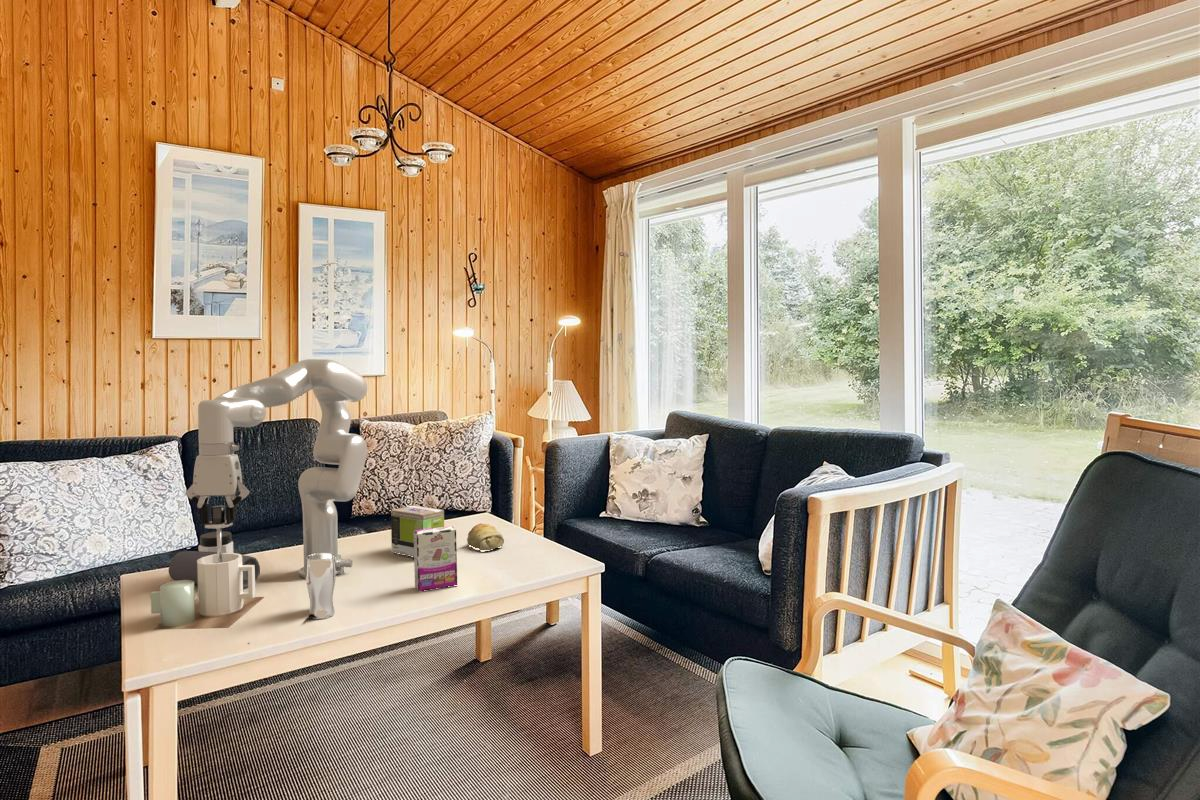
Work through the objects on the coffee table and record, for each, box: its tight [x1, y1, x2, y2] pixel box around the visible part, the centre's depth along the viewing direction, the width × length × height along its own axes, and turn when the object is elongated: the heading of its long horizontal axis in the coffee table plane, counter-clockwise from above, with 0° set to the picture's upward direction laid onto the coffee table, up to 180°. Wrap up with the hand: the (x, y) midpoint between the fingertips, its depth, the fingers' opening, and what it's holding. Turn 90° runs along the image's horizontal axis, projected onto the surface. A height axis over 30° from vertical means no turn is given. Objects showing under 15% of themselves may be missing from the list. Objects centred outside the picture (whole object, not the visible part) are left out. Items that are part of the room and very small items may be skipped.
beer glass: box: [305, 552, 337, 620], centre depth 174 cm, size 7×7×15 cm
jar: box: [198, 530, 234, 553], centre depth 205 cm, size 9×8×12 cm
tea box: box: [390, 505, 445, 558], centre depth 228 cm, size 15×10×15 cm, turn 58°
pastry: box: [466, 523, 505, 550], centre depth 237 cm, size 14×12×8 cm
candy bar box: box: [413, 525, 458, 592], centre depth 195 cm, size 11×5×16 cm, turn 117°
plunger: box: [204, 504, 233, 563], centre depth 173 cm, size 7×7×17 cm
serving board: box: [152, 596, 265, 630], centre depth 172 cm, size 17×21×1 cm
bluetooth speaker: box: [168, 550, 261, 589], centre depth 194 cm, size 23×9×10 cm, turn 77°
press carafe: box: [197, 552, 256, 617], centre depth 174 cm, size 13×10×13 cm
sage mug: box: [150, 580, 196, 627], centre depth 166 cm, size 9×7×9 cm
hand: (218, 521), depth 173 cm, fingers open, 5 cm apart
